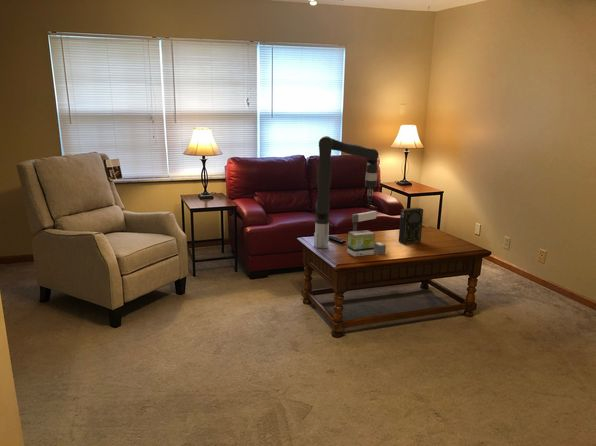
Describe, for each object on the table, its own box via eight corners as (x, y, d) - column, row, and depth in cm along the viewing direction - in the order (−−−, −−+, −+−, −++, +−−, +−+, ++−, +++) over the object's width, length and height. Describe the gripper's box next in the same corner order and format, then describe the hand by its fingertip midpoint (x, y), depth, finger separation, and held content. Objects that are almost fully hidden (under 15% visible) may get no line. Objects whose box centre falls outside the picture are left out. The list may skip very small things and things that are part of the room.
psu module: (378, 254, 305) (378, 245, 304) (373, 251, 313) (373, 242, 311) (385, 254, 307) (385, 245, 305) (379, 250, 314) (380, 241, 312)
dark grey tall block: (403, 245, 327) (406, 210, 320) (396, 241, 334) (399, 208, 328) (422, 243, 333) (424, 209, 326) (414, 239, 340) (417, 206, 334)
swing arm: (377, 218, 322) (377, 211, 321) (355, 222, 310) (355, 215, 308) (372, 217, 325) (373, 210, 324) (351, 221, 313) (351, 214, 311)
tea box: (354, 257, 299) (355, 235, 296) (346, 252, 308) (347, 231, 305) (374, 254, 305) (375, 233, 302) (366, 250, 314) (367, 229, 311)
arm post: (351, 250, 313) (352, 223, 309) (348, 247, 319) (349, 221, 314) (359, 249, 315) (361, 223, 310) (356, 247, 321) (357, 221, 316)
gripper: (376, 181, 299) (375, 207, 303) (376, 178, 312) (375, 203, 316) (365, 180, 300) (363, 206, 304) (365, 177, 313) (363, 202, 317)
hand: (369, 205), depth 310 cm, fingers closed
